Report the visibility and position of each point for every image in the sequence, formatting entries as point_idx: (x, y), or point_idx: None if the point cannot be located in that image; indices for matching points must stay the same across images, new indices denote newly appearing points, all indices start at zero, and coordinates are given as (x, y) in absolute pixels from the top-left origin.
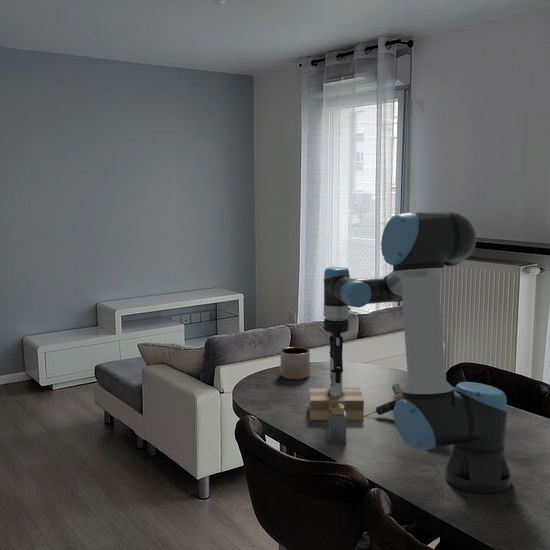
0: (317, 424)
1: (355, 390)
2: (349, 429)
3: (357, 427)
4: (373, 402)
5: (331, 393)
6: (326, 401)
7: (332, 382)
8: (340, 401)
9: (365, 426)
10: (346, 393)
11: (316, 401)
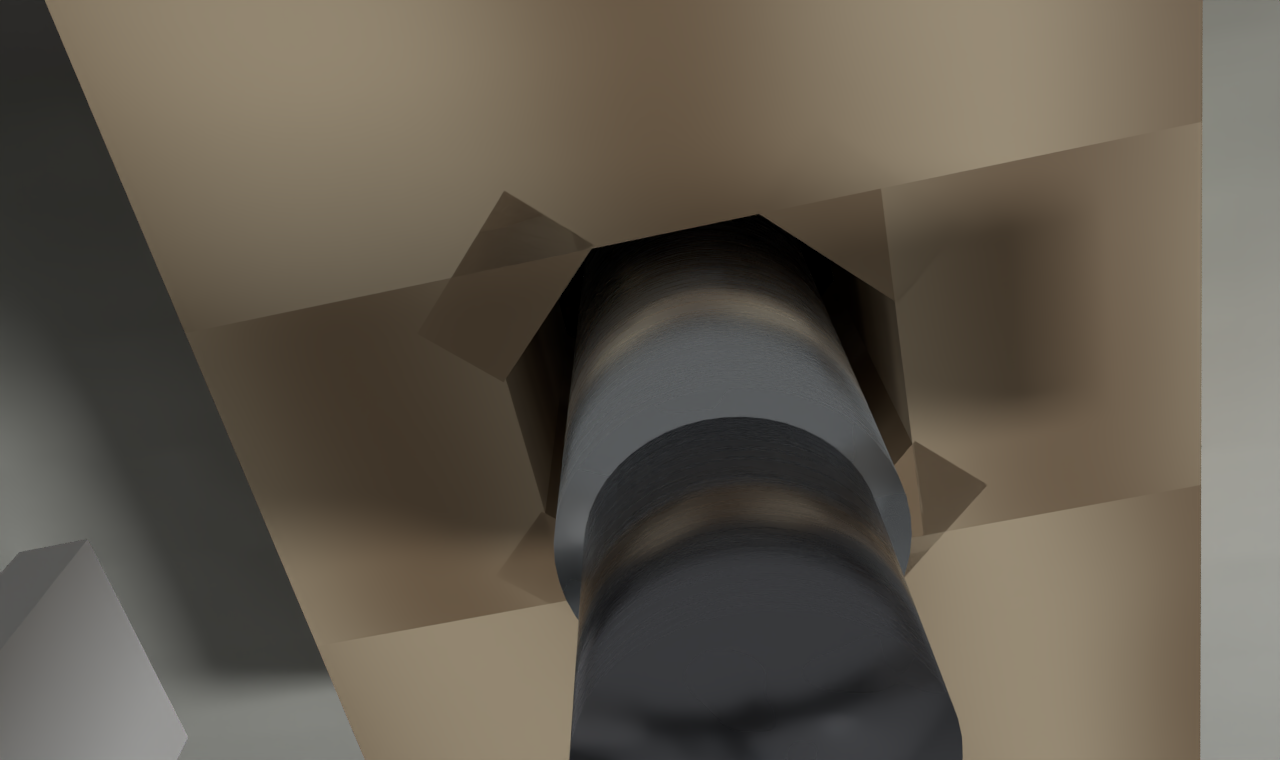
0: (15, 24)
1: (1014, 751)
2: (41, 540)
3: (164, 627)
4: (1222, 725)
5: (599, 348)
6: (165, 266)
7: (611, 531)
8: (284, 553)
9: (243, 710)
10: None
11: (61, 8)
